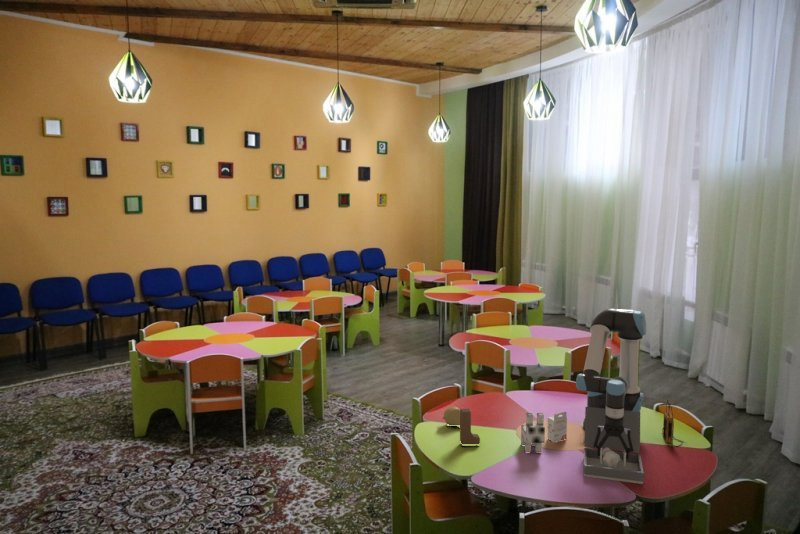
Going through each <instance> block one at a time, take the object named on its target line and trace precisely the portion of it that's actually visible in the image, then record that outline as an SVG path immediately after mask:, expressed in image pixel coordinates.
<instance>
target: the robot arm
mask: <svg viewBox="0 0 800 534" xmlns="http://www.w3.org/2000/svg"><path fill="white" fill-rule="evenodd" d="M646 319H647V318H646V315H645V312H643V311H640V310H635V309H621V308H619V309H618V308H607V309H604V310H602V311H601V312H599V313H598V314H597V315H596V316H595V317H594V319H593V320H592V322H591V324H590V328H589V331H590V333H591V335H590V338H589V344H588V347H587V348H588V349H587V353H586V357H585V362H584V367H583V371H582V373H577V375H576V380H575V386H576V389H577V390H579V391H583V392H587V395H586V396H587V397H586V398H587V402H586V404H587V405H586V407H593V408H603V409H606V415H605V425H604V426H600V425H598V431H597V434H596V437H595V441H594V444H593V445H594V447H593V449H598V450H597V455H598V456H600V464H602V450H603V448H601V447H602V446H603V444H604V443H605V441H606V440H607V438H608V437H609V436H615V437H619V439H620V441H621V443H622V445H623V447H624V449H625V450H624V451H623V452H624V460H623V465H624V467H626V459H629V453H634V452H633V446H632V441H631V437H630V433H631V430H630V428H628V429H626V428H624V427H623V419H624V418H623V416H624V411H634V412H640V413H641V408H642V405H643V400H644V393H643V392H641V387H639V385H638V383H639V382H638V381H639V380H638V377H639V357H640V356H639V355H640V353H639V351H640V341H641V340H643V336H646V334H647V321H646ZM611 333H616V334H617V338H618V339H619V340H620V345H619V346H620V347H619V349H620V350H619V351H620V352H619V375H618V376H615V377H605V376H601V371H602V367H603V361H604V357H605V352H606V351H605V350H606V348H607V347H606V346H607V342H608V337H610V335H611ZM582 427H583V429H584V430H585V418H584V420H583V423H582ZM603 429H605V431H606V433H605V435H604V437H603V438H602V440H601V441H600V443H599V444H597V443H598V440H599V437H600V434H601V431H602V430H603ZM624 431H625V433H626V434H627V437H628V442H629V446H630V448H628V447H627V445H626V443H625V441H624V439H623V437H622V435H621V434H622V433H623V432H624Z"/></svg>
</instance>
